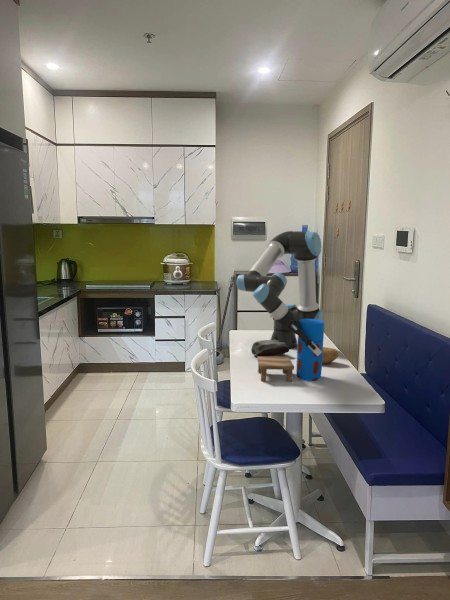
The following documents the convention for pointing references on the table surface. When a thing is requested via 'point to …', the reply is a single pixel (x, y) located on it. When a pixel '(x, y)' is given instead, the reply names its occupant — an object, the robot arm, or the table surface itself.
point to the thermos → (306, 358)
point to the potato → (329, 355)
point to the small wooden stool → (275, 366)
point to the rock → (269, 348)
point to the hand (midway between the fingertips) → (316, 350)
